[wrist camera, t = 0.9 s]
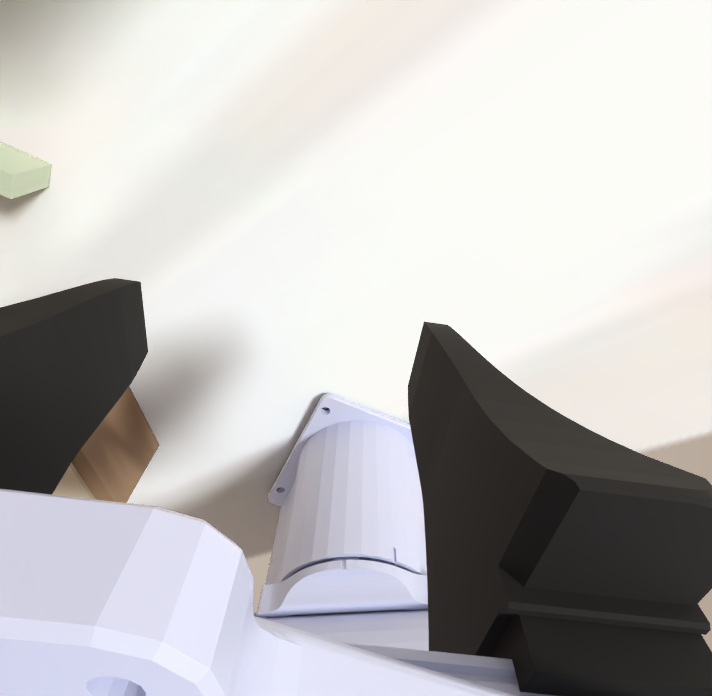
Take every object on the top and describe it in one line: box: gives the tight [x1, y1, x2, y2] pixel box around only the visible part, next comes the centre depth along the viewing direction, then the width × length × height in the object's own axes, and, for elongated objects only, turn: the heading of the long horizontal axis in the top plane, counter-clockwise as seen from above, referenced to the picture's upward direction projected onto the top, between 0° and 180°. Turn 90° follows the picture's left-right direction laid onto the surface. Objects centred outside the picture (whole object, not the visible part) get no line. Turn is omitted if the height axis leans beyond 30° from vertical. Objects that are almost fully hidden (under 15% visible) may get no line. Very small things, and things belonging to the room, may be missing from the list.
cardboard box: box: [52, 387, 159, 503], centre depth 24 cm, size 6×4×5 cm
